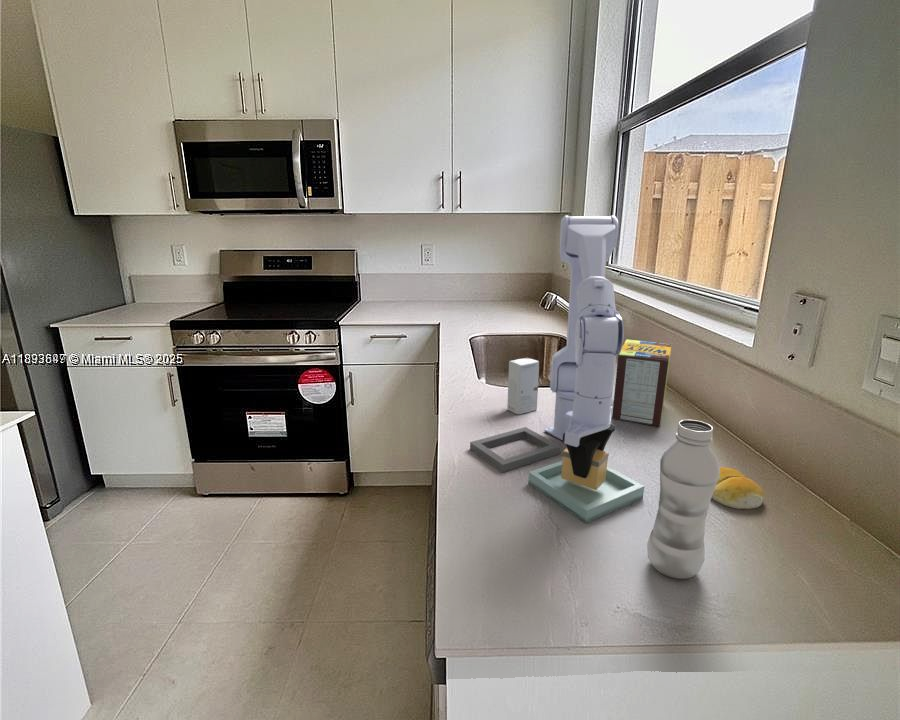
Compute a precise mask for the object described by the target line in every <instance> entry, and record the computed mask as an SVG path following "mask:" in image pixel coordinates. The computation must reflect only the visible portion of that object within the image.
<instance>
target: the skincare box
mask: <svg viewBox="0 0 900 720" xmlns="http://www.w3.org/2000/svg"><path fill="white" fill-rule="evenodd" d="M539 372H540V361H539V360H537V359H533V358H530V357H524V358H517V359H514V360H509V362H508V382H507V383H508V384H507V403H506V408H507V409H506V410H509V411H510V412H512V413H514V414H516V415H523V414H527V413H530V412H535V411H537V408H538V398H539V397H538V394H539V392H538V391H539V375H540V374H539Z"/></svg>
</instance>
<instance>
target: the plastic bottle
mask: <svg viewBox="0 0 900 720" xmlns="http://www.w3.org/2000/svg"><path fill="white" fill-rule="evenodd" d="M713 433H714V427H713V426H712V425H711V424H710V423H707V422H705V421H701V420H696V419H681V420H680V421H679V422H678V423H677V431H675V439H676V440H677V441H676V442H674V443H673V444H672V445H670V446H669V447H668V448H667V449H666V450H665V451H664V452H663V454H662V456H661V458H660V459H659V460H660V466H659V483H660V484H659V498H658V499H659V501H658V508H657V512H656V517H655V520H654V524H653V527H652V529H651V532H650V534H649V537H648V540H647V543H646V551H647V554H646V555H647V558H648V560H649V562H650V563H651V565H652V567H653V568H654V569H655V570H656V571H658V572H659V573H661V574H662V575H664V576H666V577H669V578H673V579H678V580H686V579H691V578H693V577H694V576H695V575H697V574H699V572H700V571H701V570H702V568H703V564H704V562H705V559H706V558H705V552H706V551H705V549H706V548H705V531H706V519H707V516H708V511H709V508H710V503H711V500H712V499H713V498H712V495H713V492H714V490H715V487H716V485H717V482H718V479H719V476H720V467H721V466H720V463H719V462H720V461H718V459H717V456H716V454H715V453H714V452H713V450H712V449H711V447H710V446H711V445H712V444H713V442H714V439H713Z"/></svg>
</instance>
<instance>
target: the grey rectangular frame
mask: <svg viewBox="0 0 900 720" xmlns="http://www.w3.org/2000/svg"><path fill="white" fill-rule="evenodd" d="M521 439H526V440H528V441H529V442H531V443H533V444H535V445H536V446H538V447H539V448H536V449H533V450H530V451H527V452H522V453H520V454H517V455H514V456H511V457H507V458H504V457H502V456H500V455H499V454H497V453H496V452H495V451H493V450H492V449H490V448H494V447H498V446H501V445H504V444H506V443H510V442H514V441H517V440H521ZM469 449H470V450H471V451H472V452H473V453H474V454H476V455H477V456H479V457H480V458H481V459H483V460H484V461H486V462H487V463H489V464H490V465H491V466H493V467H494V468H496V469H497V470H499V471H500V472H501V473H506V472H509V471H511V470H514V469H517V468H520V467H523V466H526V465H530V464H532V463H536V462H539V461H542V460H545V459H548V458H551V457H555V456H557V455H560V454H561V453H562V445H560V444H557V443H555V442H554V441H552V440H550V439H549V438H547V437H544V436H543V435H541V434H540V433H537V431H534V430H532V429H530V428H529V427H527V426H525V427H521V428H516V429H512V430H510V431H506V432H503V433H499V434H495V435H492V436H488V437H484V438H481V439H477V440H473V441H470V443H469Z"/></svg>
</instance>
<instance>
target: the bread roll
mask: <svg viewBox="0 0 900 720" xmlns="http://www.w3.org/2000/svg"><path fill="white" fill-rule="evenodd" d="M711 499H713V501H715V502H717V503H718V504H721V505H723V506H726V507H728V508H729V507H730V508H733V509H739V510H741V509H742V510H743V509H745V510H750V509H756V508H759V507H760V506H761V505H763V501H764V499H765V492H764V490H763V488H761V486H760V485H759V484H758V483H756V482H755V480H753V479H751V478H748V477H746V476H745V474H743V473H742V472H741V471H739V470H737V469H734V468H730V467H723V466H720V476H719V479H718V482H717V485H716V487H715V490H714V492H713V495H712V498H711Z"/></svg>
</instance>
